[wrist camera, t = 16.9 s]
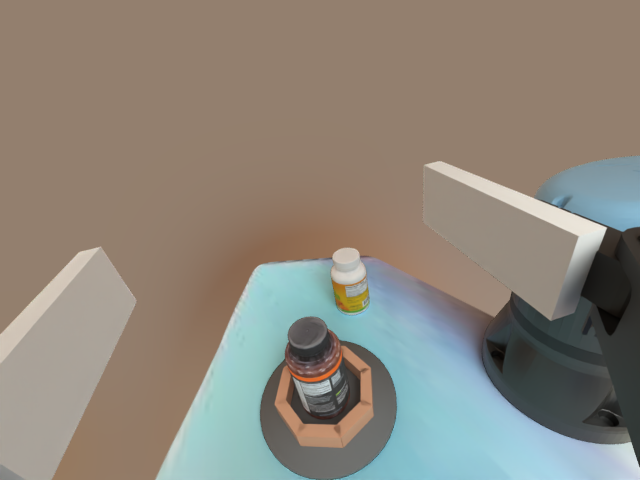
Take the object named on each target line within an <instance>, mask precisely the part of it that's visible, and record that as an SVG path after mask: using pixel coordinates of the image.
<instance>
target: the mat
mask: <svg viewBox="0 0 640 480" xmlns="http://www.w3.org/2000/svg"><path fill="white" fill-rule="evenodd" d="M339 342H340V345H341V346H346V347H347V348H348V349H349V350H351V351H352V352H353V353H354V354H355V355H356V356H358V357H359V358H360V359H361V360H362V361H364V362H365V363H366V364H367V365H368V366H369V367H371V374H372V387H373V411H374V416H373V418H372V419H371V420H370V421H369V422H368V423H367V424H366V425H365V426H364V427H363V428H362V429H361V430H360V431H359V432H358V433H357V434H356V435H355V436H354V437H353V438H352V440H351V441H350V442H349V443H348V444H347V445H346V446H345V447H343V448H334V447H312V446H300V444H299V443H298V441H297V440H296V438H295V437H294V435H293V434H292V432H291V431H290V430H289V428H288V427H287V425H286V424H285V422H284V421H283V419H282V418H281V416H280V415H279V413H278V411H277V409H276V406H275V400H276V396H277V392H278V388H279V383H280V379H281V375H282V371H283V368H284V367H285V366H287V363H286V360H284V361H283V362H282V363H281V364H280V365H279V366H278V367H277V368H276V370H275V371H274V372H273V374H272V376H271V377H270V379H269V381H268V383H267V385H266V387H265V390H264V393H263V397H262V401H261V409H260V421H261V427H262V431H263V435H264V438H265V440H266V442H267V444H268V446H269V448H270V450H271V451H272V453H273V454H274V456H275V457H276V458H277V459H278V460H279V461H280V462H281V464H282V465H284V466H285V467H286V468H288V469H289V470H290V471H292V472H294V473H296V474H298V475H300V476H303V477H306V478H310V479H316V480H333V479H338V478H343V477H346V476H349V475H351V474H353V473H355V472H357V471H359V470H361V469H363V468H364V467H365V466H367V465H368V464H369V463H371V462H372V461H373V460H374V459H375V458H376V457H377V456H378V455H379V453H380V452H381V451H382V449H383V448H384V447H385V445H386V443H387V441H388V439H389V438H390V435H391V433H392V430H393V427H394V423H395V419H396V410H397V404H396V393H395V387H394V384H393V381H392V378H391V376H390V374H389V372H388V371H387V369H386V367H385V366H384V364H383V363H382V362H381V361H380V360H379V359H378V358H377V357H376V356H375V355H374V354H373V353H371V352H370V351H368V350H367V349H365V348H363V347H361V346H359V345H357V344H354V343H351V342H347V341H340V340H339ZM345 367H346V366H345ZM346 372H347V377H348V381H349V386H350V399H349V402H348V404H347V406H346V408H345V409H344V410H343V411H342V412H341V413H340V414H339V415H337V416H336V417H334V418H331V419H325V420H322V419H317V418H314V417H312V416H311V415H309V414H308V413H307V412H306V411H305V409H304V408H303V406H302V404H301V401H300V399H299V398H298V393H297V390H296V388H295V385H294V390H293V395H292V400H291V405H290V406H291V408H292V409H293V410H294V412H295V413H296V414H297V416H298V417H299V419H300V420H301V421H302V423H303V424H326V425H337V424H338V423H339V422H340V421H341V420H342V419H343V418H344V417H345V416H346V415H347V414H348V413H349V412H350V411H351V410H352V409H353V408H354V407H355V406H356V405H357V404H358V403H359V402H360V401H361V380H360V379H359V378H358V377H357V376H355V375H354V374H353V373H352V372H351V371H350V370H349V369H348V368H347V367H346Z"/></svg>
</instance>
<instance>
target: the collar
mask: <svg viewBox="0 0 640 480" xmlns="http://www.w3.org/2000/svg"><path fill="white" fill-rule="evenodd" d="M341 349H342V353H343V358H344V363H345V366H346V367H347V368H348V369H349V370H350V371H351V372H352V373H353V374H354V375H355V376H357V377H358V378H359V379H360V380H361V401H360V402H359V403H358V404H357V405H356V406H355V407H354V408H353V409H352V410H351V411H350V412H349V413H348V414H347V415H346V416H345V417H344V418H343V419H342V420H341V421H340V422H339V423H338V424H337V425H326V424H303V423H302V421H301V420H300V419H299V417H298V416H297V414H296V413H295V412H294V410H293V409H292V408H291V406H290V405H291V400H292V395H293V390H294V383H293V380H292V377H291V375H290V372H289V369H288V366H285V367H284V368H283V371H282V375H281V379H280V383H279V388H278V392H277V396H276V400H275V406H276V409H277V411H278V413H279V415H280V416H281V418H282V419H283V421H284V422H285V424H286V425H287V427H288V428H289V430H290V431H291V432H292V434H293V435H294V437H295V438H296V440H297V441H298V443H299V444H300V446H312V447H334V448H343V447H345V446H346V445H347V444H348V443H349V442H350V441H351V440H352V438H353V437H354V436H355V435H356V434H357V433H358V432H359V431H360V430H361V429H362V428H363V427H364V426H365V425H366V424H367V423H368V422H369V421H370V420H371V419H372V418H373V416H374V411H373V387H372V374H371V367H369V366H368V365H367V364H366V363H365V362H364V361H362V360H361V359H360V358H359V357H358V356H356V355H355V354H354V353H353V352H352V351H351V350H349V349H348V348H347V347H346V346H341Z"/></svg>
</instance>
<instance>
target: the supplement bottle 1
mask: <svg viewBox="0 0 640 480" xmlns="http://www.w3.org/2000/svg"><path fill="white" fill-rule="evenodd" d="M288 340H289V342H288V344H287V347H286V350H285V360H286V363H287V366H288V369H289V372H290V375H291V377H292V380H293V383H294V385H295V388H296V390H297V393H298V398H299V399H300V401H301V404H302V406H303V408H304V409H305V411H306V412H307V413H308V414H309V415H311V416H312V417H314V418H317V419H322V420H325V419H331V418H334V417H336V416H337V415H339V414H340V413H341V412H342V411H343V410H344V409H345V408H346V406H347V404H348V402H349V399H350V386H349V381H348V377H347V372H346V367H345V363H344V358H343V353H342V349H341V345H340V342H339V339H338V337H337V336H336V335H335V334H334V333H333V332H332V331H331V330H329V329H327V326H326V324H325V322H324V321H323V320H321V319H320V318H317V317H304V318H301V319H299V320H297V321H296V322H295V323H294V324H293V325H292V326H291V327H290V329H289V332H288Z"/></svg>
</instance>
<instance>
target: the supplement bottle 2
mask: <svg viewBox="0 0 640 480" xmlns="http://www.w3.org/2000/svg"><path fill="white" fill-rule="evenodd" d="M332 258H333V264H334V265H333V266H332V268H331V279H332V284H333V289H334V295H335V300H336V305H337V308H338V309H339V310H340V311H341V312H342V313H344V314H347V315H357V314H360V313H362V312H364V311H365V310H366V309H367V308H368V306H369V291H368V283H367V274H366V268H365V265H364V264H363V263H362V262H361V261H360V255H359V252H358V251H357V250H356V249H353V248H342V249H339V250H337V251H336V252H335V253H334V254H333V257H332Z"/></svg>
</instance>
